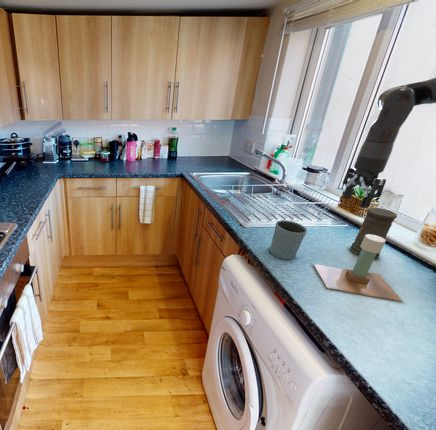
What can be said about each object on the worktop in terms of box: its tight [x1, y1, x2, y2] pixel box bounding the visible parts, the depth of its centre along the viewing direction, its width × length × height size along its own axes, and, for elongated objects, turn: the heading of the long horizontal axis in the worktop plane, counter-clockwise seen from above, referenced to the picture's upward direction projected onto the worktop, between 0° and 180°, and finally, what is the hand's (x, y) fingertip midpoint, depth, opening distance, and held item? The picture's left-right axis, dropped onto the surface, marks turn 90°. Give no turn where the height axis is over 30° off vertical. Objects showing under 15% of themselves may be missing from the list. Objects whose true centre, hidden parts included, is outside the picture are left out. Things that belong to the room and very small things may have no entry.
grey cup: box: [269, 219, 308, 260], centre depth 108 cm, size 10×10×12 cm
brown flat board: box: [312, 263, 403, 303], centre depth 96 cm, size 20×14×1 cm
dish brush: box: [345, 234, 387, 285], centre depth 93 cm, size 5×5×16 cm
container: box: [349, 207, 398, 260], centre depth 109 cm, size 9×9×18 cm
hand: (354, 202), depth 98 cm, fingers open, 8 cm apart
